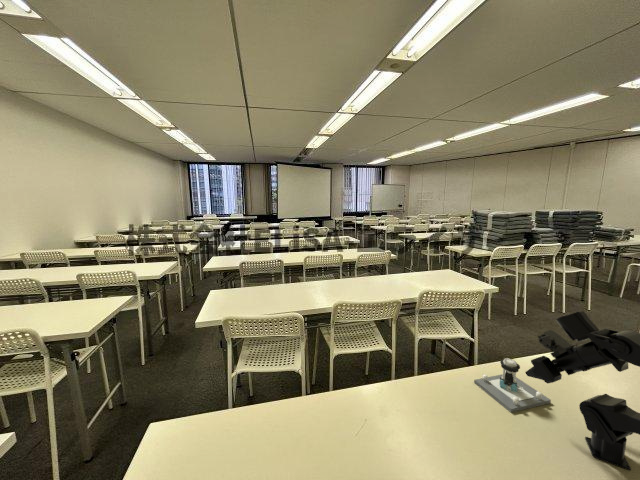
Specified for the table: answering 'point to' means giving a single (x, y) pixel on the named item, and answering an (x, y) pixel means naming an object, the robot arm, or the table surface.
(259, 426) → the table surface
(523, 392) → the mounting base
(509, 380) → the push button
